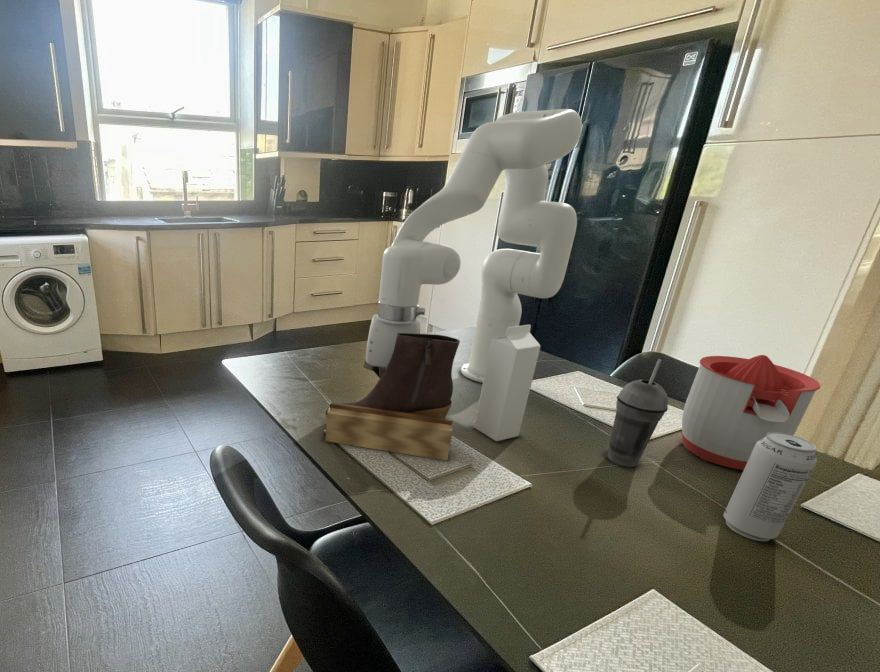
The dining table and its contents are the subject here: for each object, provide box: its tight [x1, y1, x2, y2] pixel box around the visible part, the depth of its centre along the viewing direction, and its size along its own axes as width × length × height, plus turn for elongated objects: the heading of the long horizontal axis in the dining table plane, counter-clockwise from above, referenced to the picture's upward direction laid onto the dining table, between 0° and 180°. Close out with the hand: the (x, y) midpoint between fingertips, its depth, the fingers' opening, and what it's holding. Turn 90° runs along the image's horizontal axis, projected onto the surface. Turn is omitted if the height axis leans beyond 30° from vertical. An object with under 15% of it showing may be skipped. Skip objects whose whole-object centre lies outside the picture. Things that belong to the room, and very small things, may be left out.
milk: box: [473, 324, 541, 442], centre depth 92 cm, size 6×6×22 cm
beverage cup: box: [607, 358, 669, 468], centre depth 84 cm, size 7×7×20 cm
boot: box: [323, 333, 461, 423], centre depth 93 cm, size 9×24×20 cm, turn 88°
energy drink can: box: [723, 432, 818, 542], centre depth 68 cm, size 6×6×15 cm
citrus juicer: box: [680, 354, 821, 471], centre depth 86 cm, size 16×17×20 cm
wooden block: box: [324, 401, 454, 461], centre depth 89 cm, size 22×3×7 cm, turn 75°
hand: (386, 396), depth 101 cm, fingers closed
